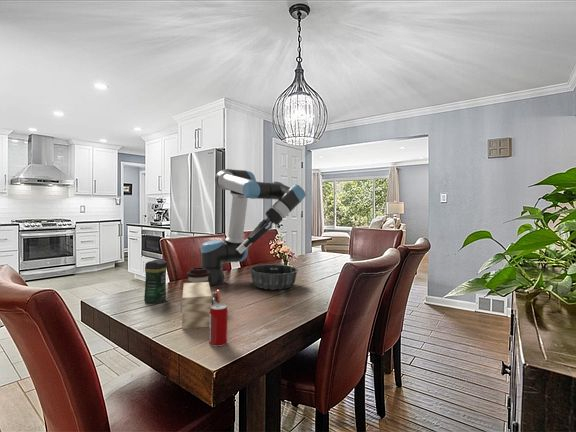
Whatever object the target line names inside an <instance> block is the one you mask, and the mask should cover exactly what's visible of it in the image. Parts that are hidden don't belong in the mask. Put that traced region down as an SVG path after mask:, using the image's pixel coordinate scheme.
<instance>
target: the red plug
mask: <svg viewBox="0 0 576 432" xmlns="http://www.w3.org/2000/svg"><path fill="white" fill-rule="evenodd" d="M211 294H212V297H215V302H216V304H221V289H216V291H211Z"/></svg>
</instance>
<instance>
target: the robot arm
mask: <svg viewBox="0 0 576 432" xmlns="http://www.w3.org/2000/svg"><path fill="white" fill-rule="evenodd" d="M214 183H215V185H216V186H217V187H218V188H219V189H221V190H225V191H230V192H229V193H230V195H231V197H232V198H231V200H232V201H231V208H230V216H229V217H230V218H229V227H228V236H227V237H226V238H225V240H224V241H222V240H217V239H216V240H210V241H206V242H204V243H202V244H201V248H200V249H201V251H200V253H201V254H200V260H201V261H200V263H201V264H200V267H202V268H206V269H207V271H209V272H210V275H209V276H208V282H209V286H218V285H222V284H223V285H224V283H226V276H225V274H224V270H223V264H226V263H227V264H228V263H238V262H243V261H244V260H246V258H247V257H248V253H249V247H250V246H251V245H252V244H254V243H256V242H257V241H258V240H259V239H260V238H261V237H263V235H264V234H265V233H267V232H268V231H269V230H271V228H272V225H273V224H274V225H275V226H278V225H279V224H280V223H281V222H282V221H283V219H286V217H289V216H290V215H289V214H290V213H291V212H292V211H293V210H294V209H295V208H296V207H297V206H298V205H299V204H300V203H302V201H303V200H304V199H305V197H306V191H305V190H304V189H303V188H302V186H300V185H299V184H297V183H296V184H293V185H291V186H287V185H285V184H283V183H282V182H280V181H272V182H262V181H257V180H256V176H255V174H254V173H253V172H252V171H248V170H245V169H244V170H243V169H232V168H231V169H230V168H226V169H222V170H220V171H218V172H217V173H216V174H215V176H214ZM248 199H251V200H255V199H256V200H257V199H259V200H276V202H274V204H273V205H272V206H271V207H270V208H269V209H268V210H267V211H266V212H265V216H266V218H264V219H263V220H261V221H260V222H259V223H258V224H257V226H256V227H255V228H254V229H253V230H252V231H251V233H249V235H247V237H246V239H245V238H244V233H245V231H244V230H245V222H246V216H247V215H246V214H247V206H248Z"/></svg>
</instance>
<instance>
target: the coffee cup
mask: <svg viewBox="0 0 576 432" xmlns="http://www.w3.org/2000/svg"><path fill="white" fill-rule="evenodd" d="M209 275H210V272H209V271H207V269H206V268H202V267H201V266H199V267H191V268H190V269H189V271H187V272H186V276H187V279H188V280H187V283H197V282H208V276H209Z"/></svg>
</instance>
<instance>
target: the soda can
mask: <svg viewBox="0 0 576 432" xmlns="http://www.w3.org/2000/svg"><path fill="white" fill-rule="evenodd" d="M228 312H229V311H228V307H227V305H226V304H225V303H220V304H217V303H216V304H215V305H212V306H211V309H210V319H209V327H208V329H209V333H208V336H209V337H208V343H209V345H210V346H212V347H214V348H215V347H216V348H217V347H218V346H219V347H223V346H225V344H227V342H228Z"/></svg>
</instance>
